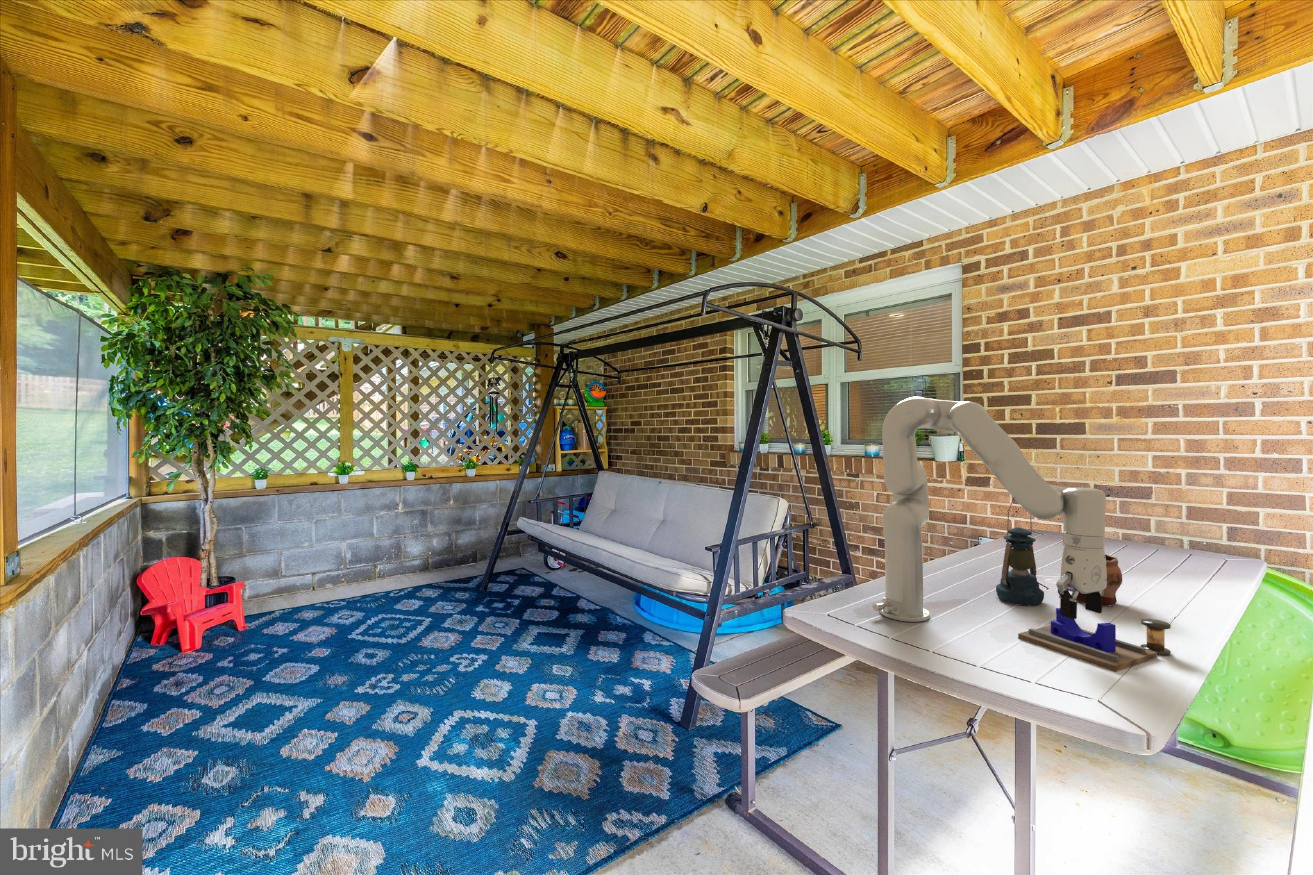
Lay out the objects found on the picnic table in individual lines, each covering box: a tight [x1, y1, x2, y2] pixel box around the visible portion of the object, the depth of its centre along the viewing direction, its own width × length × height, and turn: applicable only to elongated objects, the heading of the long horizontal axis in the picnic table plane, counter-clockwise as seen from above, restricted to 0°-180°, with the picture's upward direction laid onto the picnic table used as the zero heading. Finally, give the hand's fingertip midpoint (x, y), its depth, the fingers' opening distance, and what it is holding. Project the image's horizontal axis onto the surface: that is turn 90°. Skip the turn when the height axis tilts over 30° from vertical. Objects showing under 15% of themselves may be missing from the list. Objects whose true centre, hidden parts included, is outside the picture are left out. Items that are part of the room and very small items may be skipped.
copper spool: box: [1140, 618, 1172, 657], centre depth 122 cm, size 5×5×7 cm
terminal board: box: [1017, 624, 1158, 673], centre depth 125 cm, size 16×20×2 cm
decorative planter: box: [1075, 553, 1123, 607], centre depth 155 cm, size 20×12×14 cm, turn 132°
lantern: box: [995, 497, 1045, 607], centre depth 159 cm, size 14×12×35 cm
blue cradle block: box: [1050, 607, 1117, 652], centre depth 125 cm, size 12×4×6 cm, turn 9°
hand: (1080, 614), depth 125 cm, fingers open, 9 cm apart
